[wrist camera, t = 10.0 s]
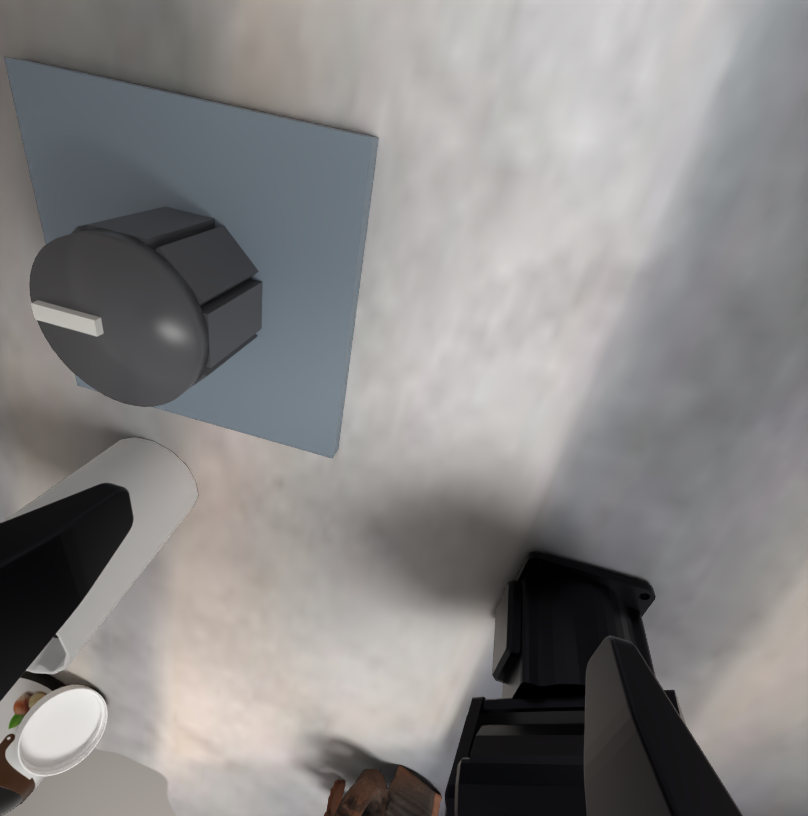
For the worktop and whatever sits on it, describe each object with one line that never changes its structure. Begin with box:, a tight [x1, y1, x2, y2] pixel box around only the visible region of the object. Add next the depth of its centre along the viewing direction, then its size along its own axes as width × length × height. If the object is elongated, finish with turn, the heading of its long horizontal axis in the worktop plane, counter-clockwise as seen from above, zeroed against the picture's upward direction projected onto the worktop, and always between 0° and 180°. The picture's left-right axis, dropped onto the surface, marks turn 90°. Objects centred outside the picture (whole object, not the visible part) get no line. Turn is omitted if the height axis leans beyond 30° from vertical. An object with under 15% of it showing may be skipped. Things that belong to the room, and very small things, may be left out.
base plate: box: [4, 57, 378, 458], centre depth 19 cm, size 14×14×4 cm
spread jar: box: [0, 671, 108, 816], centre depth 42 cm, size 12×11×12 cm
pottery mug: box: [324, 765, 442, 816], centre depth 40 cm, size 12×10×8 cm
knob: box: [30, 206, 263, 407], centre depth 18 cm, size 6×6×5 cm
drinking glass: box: [3, 437, 198, 674], centre depth 24 cm, size 7×7×10 cm
